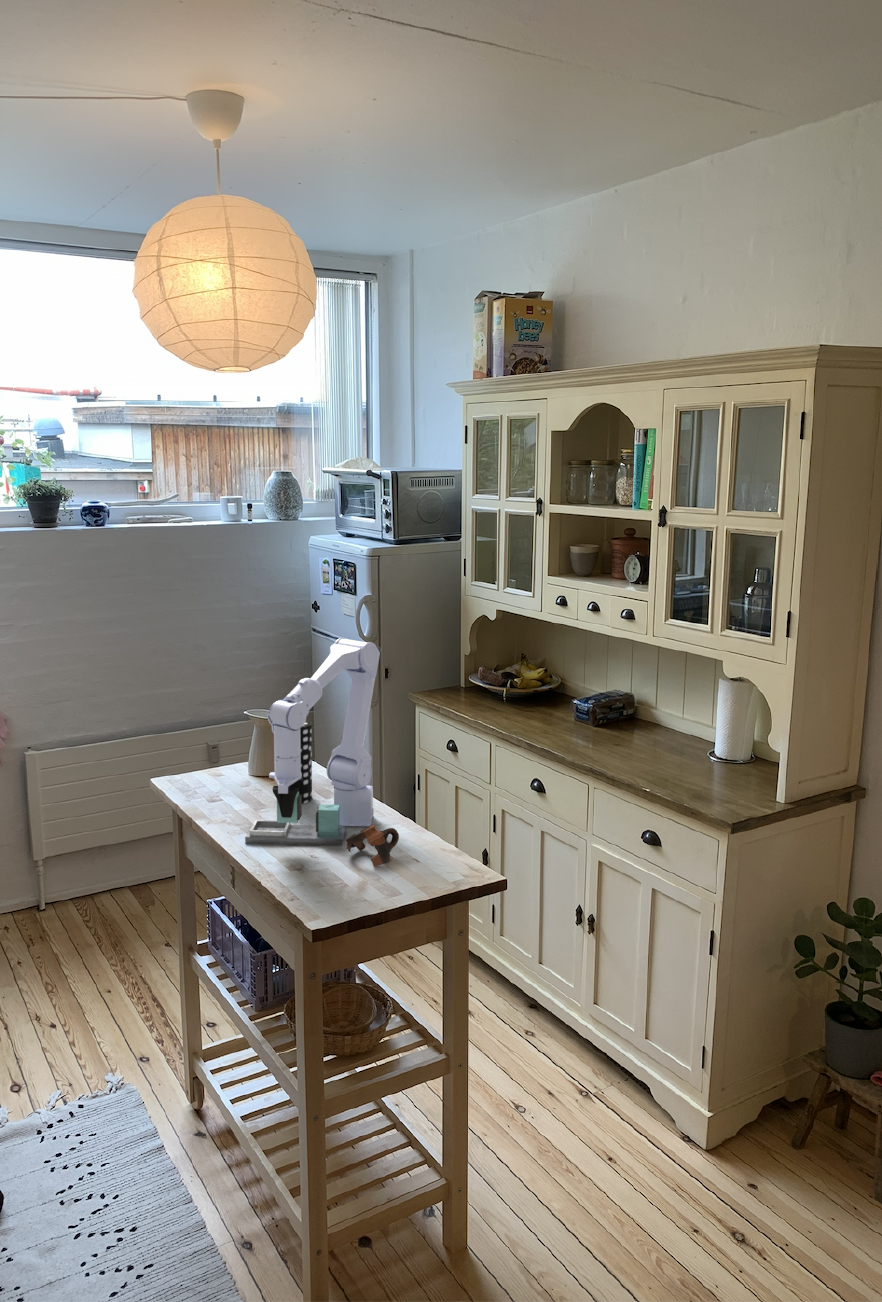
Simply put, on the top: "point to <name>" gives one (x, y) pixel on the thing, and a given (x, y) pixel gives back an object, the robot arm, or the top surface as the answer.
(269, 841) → the grey long flat piece
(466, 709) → the top surface
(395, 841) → the brown looped piece
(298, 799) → the pale aqua cube
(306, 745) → the white-spotted black cylinder
